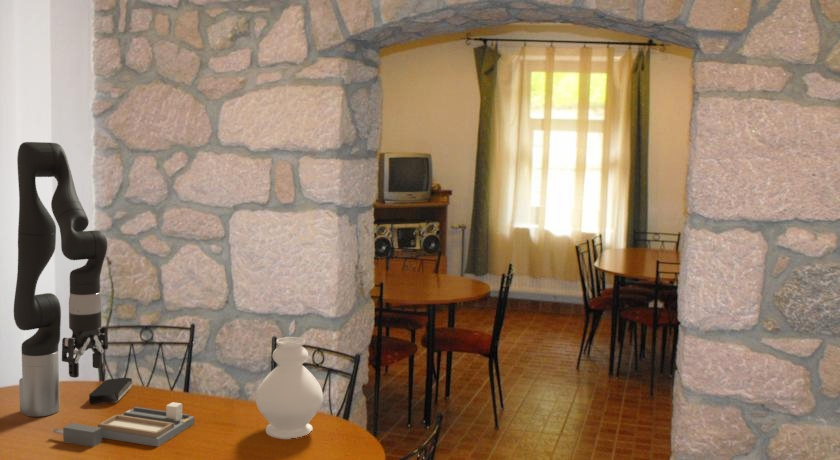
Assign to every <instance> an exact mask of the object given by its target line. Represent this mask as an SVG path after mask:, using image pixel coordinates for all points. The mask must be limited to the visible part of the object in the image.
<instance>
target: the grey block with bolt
mask: <svg viewBox="0 0 840 460" xmlns="http://www.w3.org/2000/svg"><path fill="white" fill-rule="evenodd" d="M52 432H53V433H55V434H61V435H62V436H63V437H62V438H63V439H62V440H63V441H62V442H63V443H67V444H68V443H69V444H74V445H80V446H86V447H91V448H94V447H96V446H98V445H99V444H101V443H103V438H102V428H100V427H98V426H92V425H86V424H81V423H80V424H79V423H73V422H71V423H69V424H67V425H66V426H63V427H62V429H60V428H59V429H58V428H54V429H53V431H52Z"/></svg>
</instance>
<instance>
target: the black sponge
mask: <svg viewBox="0 0 840 460" xmlns="http://www.w3.org/2000/svg"><path fill="white" fill-rule="evenodd" d="M132 385H133V378H131V377H120V378H119V377H118V378H109V379H106V380H104V381H103V382H102V383H100V384H99V386H97V387H96V388H95V389H94V390H93V391H92V392H91V393H89V394H88V397H89V398H88V402H89V404H91V405H95V404H96V405H97V404H99V405H100V404H113V403H118V402H119V401H120V400H121V399H122V398H123V397H124V396H125V395H126V393H127V392H128V391H129V390H131V388H132Z"/></svg>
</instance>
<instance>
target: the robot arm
mask: <svg viewBox="0 0 840 460" xmlns="http://www.w3.org/2000/svg"><path fill="white" fill-rule="evenodd" d="M17 150H18V151H17V156H16V158H17V159H16V161H17V180H18V181H17V182H18V198H19V201H18V208H19V210H18V211H19V212H18V226H17V227H18V229H17V274H16V284H15V293H14V300H13V319H14V322H15V325H16V326H17V328H18V329H19V330H21V331H31V330H32V331H33V330H36V329H37V331H36V332H35V333H34V334H32V336H30V337H29V338H27V339H25V340H24V341H23V342H22V344H21V349H20V350H21V372H22V373H21V375H22V376H21V377H22V378H20V379H19V381H18V383H19V384H18V386H19V413H21V414H23V415H25V416H26V417H46V416H50V415H53V414H56V413H57V412H60V369H59V368H60V364H59V358H60V357H59V345H60V341H62V344H61V361H62V362H63V363H68V375H69V377H70V378H78V377H79V375H80V370H79V369H80V368H79V366H80V365H79V361H80V359H81V356H83V355H84V353H85V352H87V351H88V350H91V351H92V352H93V353H92V368H94V369H101V368H102V364H103V360H102V359H103V353H104V351H105V350H108V349H109V337H108V327H106V326H102V296H101V273H102V268H103V266H104V265H103V264H104V261H105V258H106V255H107V251H108V240H107V237H106V235H105V234H104V232H102V231H100V230H86V229H87V228H88V226H89V218H88V216H87V213H86V211H85V209H84V207H83V206H82V202H81V201H80V199H79V197H78V194H77V190H76V187H75V184H74V179H73V175H72V170H71V168H70V164H69V160H68V156H67V154H66V152H65V150H64V148H63V147H62V145H61V144H59V143H56V142H46V141H45V142H44V141H43V142H39V141H38V142H36V141H25V142H22V143H20V145H19V147H18V149H17ZM47 177H48V178H52V177H53V178H55V180H56V181H57V185H56V188H55V191H54V193H53V194H52V197H51V204H50V206H51V212H52V213H53V217H54V218H53V217H52V214H50V212H49V211H48V209H47V208H46V207H45V205H44V204H43V202H42V200H41V198H40V196H39V194H38V191H37V184H36V183H37V182H36V178H47ZM54 219H55V221H56V222H55V221H54ZM56 223H57V225H58V227H59V233H60V243H61V244H60V247H61V252H62V253H61V254H62V255H63V256H64V257H65V258H67V259H68V260H69V261H79V260H80V261H81V260H87V261H86V263H85V264H84V265H83V266H81V267H77V268H75V269H73V270H71V271H70V273H69V296H68V328H69V330H71V332H72V333H71V336H70V337H63V338H62V340H61V323H62V320H61V319H62V310H61V309H62V308H61V304H60V301H59V299H58V297H57V296H56V295H55V294H54V293H52V292H51V293H50V292H47V293H40V294H36V290H37V285H38V281H39V278H40V276H41V274H42V272H43V271H44V269H46V267H47V265H49V262H50V260H51V259H52V257H53V255H54V253H55V249H56V242H57V238H56V237H57V227H56V226H57V225H56ZM67 354H68V355H67Z"/></svg>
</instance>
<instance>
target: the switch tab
mask: <svg viewBox="0 0 840 460" xmlns="http://www.w3.org/2000/svg"><path fill="white" fill-rule="evenodd" d="M165 411H166V418H170V419H177V420H179V419H181V418H182V414H183V403H180V402H173V401H172V402H170V403H168V404H166V408H165Z"/></svg>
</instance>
